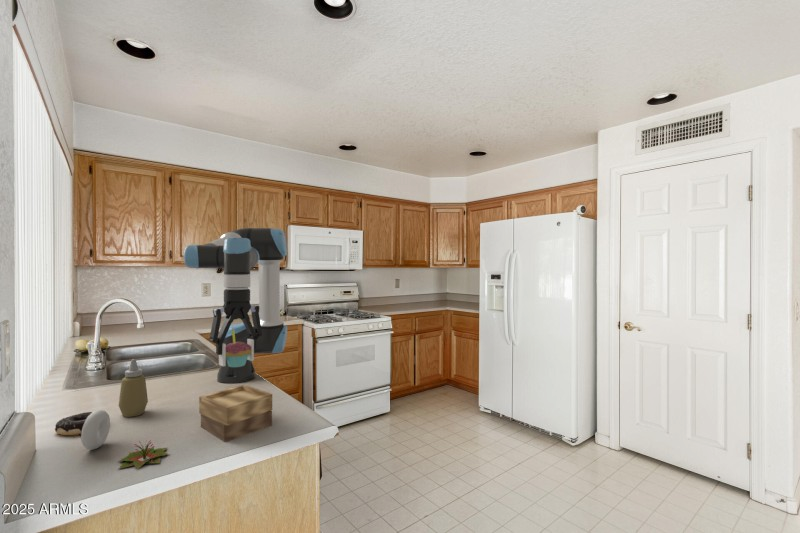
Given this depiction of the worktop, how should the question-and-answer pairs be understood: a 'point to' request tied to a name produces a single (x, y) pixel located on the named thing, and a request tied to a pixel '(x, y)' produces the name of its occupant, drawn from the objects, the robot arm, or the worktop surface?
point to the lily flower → (143, 453)
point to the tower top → (235, 404)
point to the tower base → (236, 426)
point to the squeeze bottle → (133, 392)
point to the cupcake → (237, 352)
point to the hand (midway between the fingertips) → (236, 362)
